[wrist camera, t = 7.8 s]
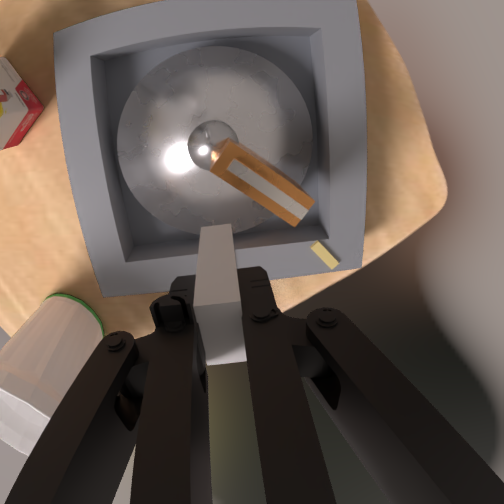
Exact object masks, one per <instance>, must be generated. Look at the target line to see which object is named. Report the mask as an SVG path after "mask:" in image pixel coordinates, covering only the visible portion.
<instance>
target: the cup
mask: <svg viewBox="0 0 504 504" xmlns="http://www.w3.org/2000/svg"><path fill="white" fill-rule="evenodd" d="M103 336H104V332H103V327H102V323H101V321H100V319H99V318H98V316H97V315H96V314H95V312H94V311H93V310H92V309H91V308H90V307H89V306H88V305H87V304H85V303H84V302H83V301H82V300H79V299H77V298H75V297H73V296H70V295H66V294H54V295H51V296H49V297H47V298H46V299H45V300H44V301H43V303H42V304H41V305H40V307H39V308H38V309H37V310H36V311H35V312H34V313H33V315H32V316H31V317H30V318H29V319H28V320H27V321H26V322H25V323H24V324H23V325H22V327H21V328H20V329H19V330H18V331H17V332H16V333H15V334H14V335H13V337H12V338H11V339H10V340H9V341H8V342H7V344H6V345H5V346H4V347H3V348H2V349H1V351H0V439H1V440H3V441H4V442H6V443H7V444H8V445H10V446H12V447H13V448H14V449H16V450H18V451H20V452H22V453H23V454H26V455H28V456H29V455H30V453H31V452H32V450H33V448H34V446H35V444H36V443H37V441H38V439H39V437H40V436H41V434H42V432H43V431H44V429H45V427H46V425H47V424H48V422H49V420H50V419H51V417H52V415H53V414H54V412H55V410H56V409H57V407H58V405H59V404H60V402H61V401H62V399H63V397H64V396H65V394H66V393H67V391H68V389H69V388H70V386H71V385H72V383H73V382H74V380H75V378H76V377H77V375H78V374H79V372H80V371H81V369H82V368H83V366H84V365H85V363H86V362H87V360H88V359H89V357H90V356H91V354H92V353H93V351H94V350H95V348H96V347H97V345H98V344H99V342H100V341H101V340H102V339H103Z"/></svg>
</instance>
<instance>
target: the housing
mask: <svg viewBox="0 0 504 504" xmlns="http://www.w3.org/2000/svg"><path fill="white" fill-rule="evenodd" d="M53 37H54V67H55V82H56V94H57V103H58V112H59V120H60V128H61V134H62V141H63V147H64V153H65V158H66V164H67V169H68V174H69V179H70V184H71V188H72V193H73V197H74V201H75V206H76V210H77V214H78V218H79V221H80V225H81V229H82V233H83V236H84V240H85V243H86V247H87V250H88V253H89V257H90V260H91V263H92V266H93V269H94V272H95V275H96V278H97V281H98V284H99V287H100V290H101V293H102V296H103V297H114V296H126V295H137V294H147V293H158V292H168V291H170V286H171V283H172V282H173V281H174V280H175V278H176V277H177V276H186V275H194V274H196V270H197V260H198V250H199V241H200V234H193V233H189V232H185V231H182V230H179V229H176V228H174V227H172V226H170V225H168V224H166V223H164V222H162V221H160V220H159V219H158V218H156V217H155V216H153V215H152V214H151V213H150V212H148V211H147V210H146V209H145V208H144V207H143V206H142V205H141V204H140V202H139V201H138V200H137V199H136V198H135V196H134V195H133V193H132V192H131V190H130V189H129V187H128V185H127V183H126V181H125V179H124V177H123V174H122V171H121V168H120V164H119V159H118V153H117V134H118V126H119V122H120V118H121V114H122V112H123V109H124V106H125V104H126V102H127V100H128V98H129V96H130V94H131V93H132V91H133V90H134V88H135V87H136V86H137V84H138V83H139V82H140V81H141V80H142V79H143V78H144V76H145V75H146V74H147V73H148V72H150V71H151V70H152V69H153V68H155V67H156V66H157V65H158V64H160V63H161V62H163V61H165V60H166V59H168V58H170V57H172V56H174V55H176V54H179V53H181V52H184V51H187V50H191V49H195V48H200V47H207V46H226V47H233V48H239V49H242V50H246V51H250V52H252V53H254V54H257V55H259V56H261V57H263V58H265V59H266V60H268V61H270V62H271V63H273V64H274V65H276V66H277V67H278V68H279V69H281V70H282V71H283V72H284V73H285V74H286V75H287V76H288V77H289V78H290V79H291V80H292V82H293V83H294V84H295V86H296V87H297V89H298V90H299V92H300V94H301V95H302V97H303V99H304V101H305V103H306V106H307V109H308V112H309V115H310V120H311V125H312V135H313V143H312V153H311V158H310V163H309V166H308V169H307V172H306V175H305V177H304V179H303V181H302V183H301V185H300V186H301V187H302V188H303V189H304V190H305V191H306V192H307V193H308V194H309V195H310V196H311V197H312V198H313V199H314V200H315V202H314V204H313V205H312V206H311V208H310V209H309V211H308V212H307V213H306V215H305V216H304V217H303V219H302V220H300V222H299V223H298V224H297V225H296V227H293V226H292V225H290V224H289V223H287V222H286V221H284V220H283V219H281V218H280V217H278V216H277V215H273V216H272V217H270V218H269V219H268V220H266V221H264V222H262V223H260V224H259V225H257V226H255V227H252V228H249V229H247V230H244V231H241V232H237V233H233V234H232V236H233V244H234V252H235V260H236V268H237V269H239V268H247V267H255V266H261V267H262V268H263V269H264V270H266V271H267V274H268V277H269V280H274V279H282V278H290V277H298V276H306V275H313V274H321V273H328V272H335V271H342V270H349V269H356V268H361V267H362V256H363V244H364V230H365V213H366V189H367V115H366V92H365V75H364V62H363V51H362V41H361V32H360V24H359V16H358V8H357V2H356V0H164V1H159V2H154V3H149V4H144V5H140V6H136V7H131V8H127V9H124V10H120V11H116V12H113V13H109V14H106V15H102V16H99V17H96V18H93V19H90V20H87V21H84V22H81V23H78V24H75V25H73V26H70V27H67V28H65V29H62V30H60V31H57V32H55V33H53Z"/></svg>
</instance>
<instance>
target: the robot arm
mask: <svg viewBox="0 0 504 504" xmlns="http://www.w3.org/2000/svg"><path fill="white" fill-rule="evenodd" d="M149 308H150V311H151V314H152V317H153V320H154V323H155V326H156V329H155V332H153V333H152V334H149V335H147V336H144V337H141V338H137V339H134V337H133V336H132V335H131V334H130V333H128V332H125V331H117V332H113V333H110V334H109V335H107V336H105V337H104V338H103V339H102V340H101V341H100V342H99V344H98V345H97V347H96V348H95V350H94V351H93V353H92V354H91V356H90V357H89V359H88V360H87V362H86V363H85V365H84V366H83V368H82V369H81V371H80V372H79V374H78V375H77V377H76V378H75V380H74V382H73V383H72V385H71V386H70V388H69V389H68V391H67V393H66V394H65V396H64V397H63V399H62V401H61V402H60V404H59V405H58V407H57V409H56V410H55V412H54V414H53V415H52V417H51V419H50V420H49V422H48V424H47V425H46V427H45V429H44V431H43V432H42V434H41V436H40V437H39V439H38V441H37V443H36V444H35V446H34V448H33V450H32V452H31V453H30V455H29V457H28V459H27V461H26V463H25V464H24V467H23V468H22V470H21V472H20V474H19V476H18V478H17V480H16V482H15V483H14V485H13V487H12V489H11V491H10V493H9V496H8V497H7V500H6V502H5V504H112V502H113V499H114V497H115V494H116V492H117V489H118V487H119V484H120V482H121V479H122V477H123V474H124V472H125V469H126V467H127V464H128V462H129V459H130V456H131V454H132V452H133V449H134V447H135V445H136V449H135V458H134V467H133V476H132V486H131V498H130V504H213V503H212V487H211V466H210V441H209V410H208V409H209V408H208V374H207V371H206V367H205V366H206V364H205V363H206V361H207V365H214V364H224V363H234V362H242V361H247V366H248V374H249V381H250V389H251V396H252V403H253V411H254V418H255V426H256V433H257V440H258V447H259V454H260V461H261V468H262V475H263V482H264V488H265V494H266V502H267V504H336V500H335V497H334V493H333V489H332V486H331V482H330V479H329V475H328V471H327V468H326V464H325V461H324V457H323V454H322V450H321V446H320V443H319V439H318V436H317V432H316V429H315V425H314V422H313V418H312V415H311V411H310V408H309V404H308V401H307V397H306V394H305V390H304V387H303V383H302V380H301V377H305V380H306V382H307V383H308V385H309V386H310V388H311V389H312V391H313V392H314V394H315V395H316V397H317V398H318V400H319V401H320V403H321V404H322V405H323V407H324V408H325V410H326V411H327V413H328V414H329V416H330V417H331V419H332V420H333V422H334V423H335V425H336V426H337V428H338V429H339V430H340V432H341V433H342V435H343V436H344V438H345V439H346V441H347V442H348V444H349V445H350V446H351V448H352V449H353V451H354V452H355V454H356V455H357V456H358V458H359V459H360V461H361V462H362V463H363V465H364V466H365V468H366V469H367V471H368V472H369V473H370V475H371V476H372V478H373V479H374V480H375V482H376V483H377V485H378V486H379V488H380V489H381V490H382V492H383V493H384V495H385V496H386V497H387V499H388V500H389V501H390V503H391V504H504V483H503V482H502V480H501V479H500V478H499V477H498V476H497V475H496V474H495V472H494V471H493V470H492V469H491V468H490V467H489V466H488V465H487V464H486V462H485V461H484V460H483V459H482V458H481V457H480V456H479V455H478V454H477V453H476V452H475V450H474V449H473V448H472V447H471V446H470V445H469V444H468V443H467V442H466V441H465V440H464V438H463V437H462V436H461V435H460V434H459V433H458V432H457V431H456V430H455V429H454V428H453V427H452V426H451V424H450V423H449V422H448V421H447V420H446V419H445V418H444V417H443V416H442V415H441V414H440V413H439V412H438V411H437V409H436V408H435V407H434V406H433V405H432V404H431V403H430V402H429V401H428V400H427V399H426V398H425V397H424V396H423V395H422V393H421V392H420V391H419V390H418V389H417V388H416V387H415V386H414V385H413V384H412V383H411V382H410V381H409V380H408V379H407V378H406V377H405V376H404V375H403V374H402V373H401V371H400V370H399V369H398V368H397V367H396V366H395V365H394V364H393V363H392V362H391V361H390V360H389V359H388V358H387V357H386V356H385V355H384V354H383V353H382V352H381V351H380V350H379V349H378V348H377V347H376V346H375V345H374V344H373V343H372V342H371V341H370V340H369V338H368V337H367V336H366V335H364V333H363V332H362V331H360V329H359V328H358V327H357V326H356V325H355V324H354V323H353V322H352V321H351V320H350V319H349V318H348V317H347V316H346V315H345V314H344V313H342V312H341V311H339V310H337V309H333V308H319V309H316V310H314V311H312V312H310V314H309V315H308V316H307V319H299V318H292V317H289V316H286V315H284V314H282V312H281V311H280V309H279V308H277V305H276V302H275V298H274V295H273V291H272V288H271V284H270V281H269V277H268V274H267V271H266V270H264V269H263V268H262V267H261V266H255V267H247V268H239V269H237V268H236V260H235V252H234V244H233V236H232V228H231V224H223V225H214V226H206V227H201V232H200V241H199V250H198V260H197V270H196V274H194V275H186V276H177V277H176V278H175V280H174V281H173V282H172V283H171V286H170V292H169V294H168V295H164V296H162V297H159V298H157V299H156V300H155V301H154V302H152V304H151V306H150V307H149Z"/></svg>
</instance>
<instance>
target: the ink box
mask: <svg viewBox="0 0 504 504" xmlns="http://www.w3.org/2000/svg"><path fill="white" fill-rule="evenodd" d="M43 109H44V106H43V105H42V104H41V103H40V101H39V100H38V99H37V98H36V96H35V95H34V94H33V93H32V91H31V90H30V89H29V87H28V86H27V85H26V84H25V82H24V81H23V80H22V79H21V77H20V76H19V75H18V73H17V72H16V71H15V69H14V68H13V67H12V65H11V64H10V63H9V61H8V60H7V59H6V58H5V57H0V150H3V149H6V148H10V147H13V146H17V145H19V143H20V141H21V140H22V138H23V137H24V135H25V134H26V133H27V131H28V130H29V128H30V127H31V126H32V124H33V123H34V122H35V120H36V119H37V118H38V116H39V115H40V113H41V112H42V111H43Z"/></svg>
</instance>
